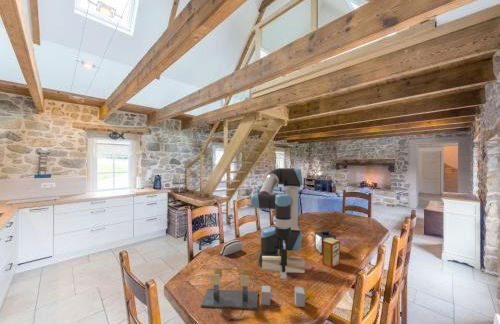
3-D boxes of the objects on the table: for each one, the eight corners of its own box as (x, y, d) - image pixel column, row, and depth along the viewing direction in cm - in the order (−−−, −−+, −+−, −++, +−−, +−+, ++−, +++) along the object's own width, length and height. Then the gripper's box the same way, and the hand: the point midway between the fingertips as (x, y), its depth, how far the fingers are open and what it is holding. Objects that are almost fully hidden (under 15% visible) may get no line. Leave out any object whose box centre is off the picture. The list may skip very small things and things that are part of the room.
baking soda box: (331, 268, 133) (331, 243, 133) (322, 264, 138) (322, 240, 138) (339, 264, 138) (339, 240, 138) (330, 260, 143) (331, 237, 144)
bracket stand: (207, 291, 108) (207, 264, 108) (257, 293, 106) (258, 266, 106) (200, 306, 96) (201, 277, 96) (257, 309, 94) (257, 279, 94)
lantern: (322, 255, 152) (322, 216, 153) (314, 249, 163) (314, 213, 164) (335, 254, 154) (336, 216, 155) (327, 248, 165) (327, 212, 166)
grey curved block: (237, 248, 164) (240, 237, 162) (240, 251, 161) (243, 240, 158) (219, 253, 153) (222, 242, 151) (222, 258, 150) (225, 246, 147)
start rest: (261, 297, 102) (261, 285, 102) (302, 299, 101) (302, 287, 101) (261, 304, 97) (261, 291, 97) (304, 306, 96) (304, 293, 96)
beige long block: (262, 267, 103) (262, 255, 103) (303, 268, 101) (303, 257, 101) (262, 271, 99) (262, 259, 99) (304, 272, 97) (304, 261, 97)
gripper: (274, 221, 109) (274, 266, 109) (276, 232, 92) (276, 285, 92) (288, 221, 108) (288, 266, 108) (293, 232, 91) (293, 286, 91)
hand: (282, 275), depth 100 cm, fingers closed on beige long block, 4 cm apart
